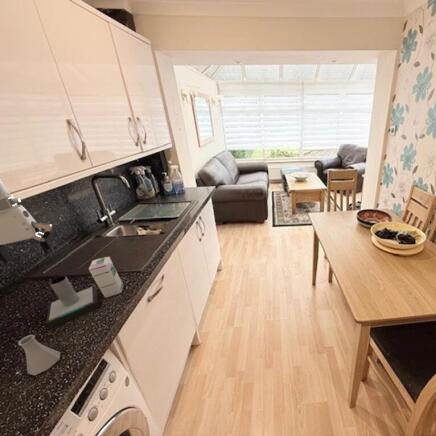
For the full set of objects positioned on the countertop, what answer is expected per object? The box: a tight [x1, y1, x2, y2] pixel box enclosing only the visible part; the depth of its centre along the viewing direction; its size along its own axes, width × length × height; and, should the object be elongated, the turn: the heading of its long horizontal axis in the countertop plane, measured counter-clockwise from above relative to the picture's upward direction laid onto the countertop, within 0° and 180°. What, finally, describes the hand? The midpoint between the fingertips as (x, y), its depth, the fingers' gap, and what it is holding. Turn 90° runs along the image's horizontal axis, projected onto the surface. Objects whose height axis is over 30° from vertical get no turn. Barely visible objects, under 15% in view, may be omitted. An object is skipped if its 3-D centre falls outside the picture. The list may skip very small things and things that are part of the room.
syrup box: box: [88, 255, 124, 299], centre depth 92 cm, size 6×6×14 cm
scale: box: [45, 285, 100, 330], centre depth 88 cm, size 14×12×3 cm
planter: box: [49, 275, 79, 306], centre depth 85 cm, size 4×4×10 cm
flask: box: [17, 334, 61, 376], centre depth 67 cm, size 7×7×10 cm
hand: (29, 255), depth 75 cm, fingers open, 9 cm apart
